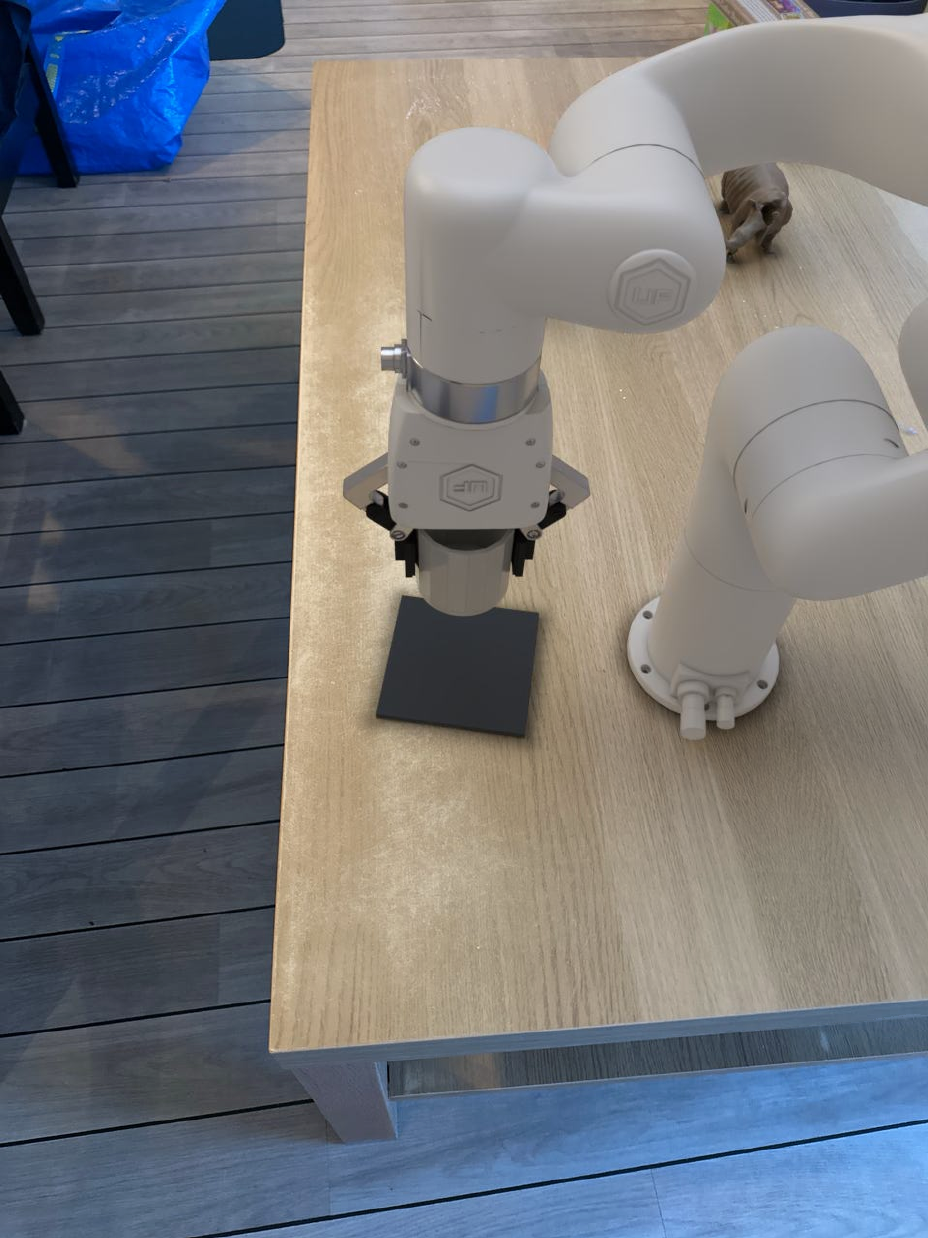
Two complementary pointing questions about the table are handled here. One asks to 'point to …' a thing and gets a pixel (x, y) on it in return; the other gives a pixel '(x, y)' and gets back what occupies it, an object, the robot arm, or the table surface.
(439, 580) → the steel pot
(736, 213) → the rhinoceros figurine
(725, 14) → the tea box
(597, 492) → the table surface
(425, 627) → the slate mat
